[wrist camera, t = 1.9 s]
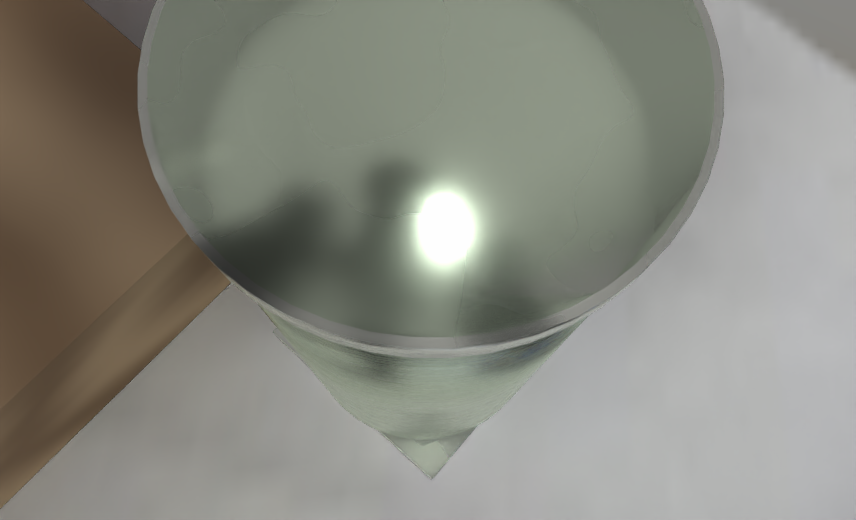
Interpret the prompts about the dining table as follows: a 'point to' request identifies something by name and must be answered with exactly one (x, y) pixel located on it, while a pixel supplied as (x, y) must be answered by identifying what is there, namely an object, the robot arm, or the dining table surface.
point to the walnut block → (79, 232)
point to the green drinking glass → (430, 179)
